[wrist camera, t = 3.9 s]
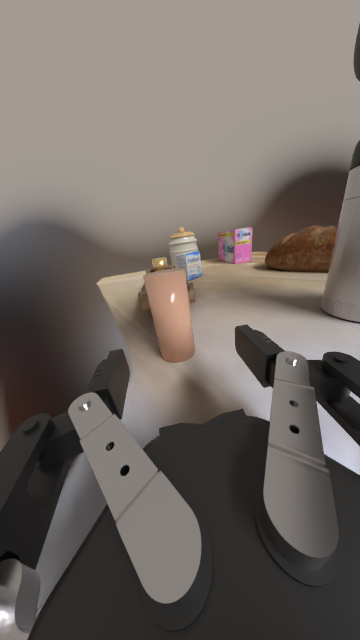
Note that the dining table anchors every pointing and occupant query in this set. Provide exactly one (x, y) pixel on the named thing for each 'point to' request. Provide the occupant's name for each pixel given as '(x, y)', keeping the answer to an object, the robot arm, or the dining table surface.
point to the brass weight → (160, 264)
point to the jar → (181, 244)
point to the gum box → (235, 245)
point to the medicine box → (190, 264)
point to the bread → (304, 250)
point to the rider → (171, 313)
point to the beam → (144, 297)
